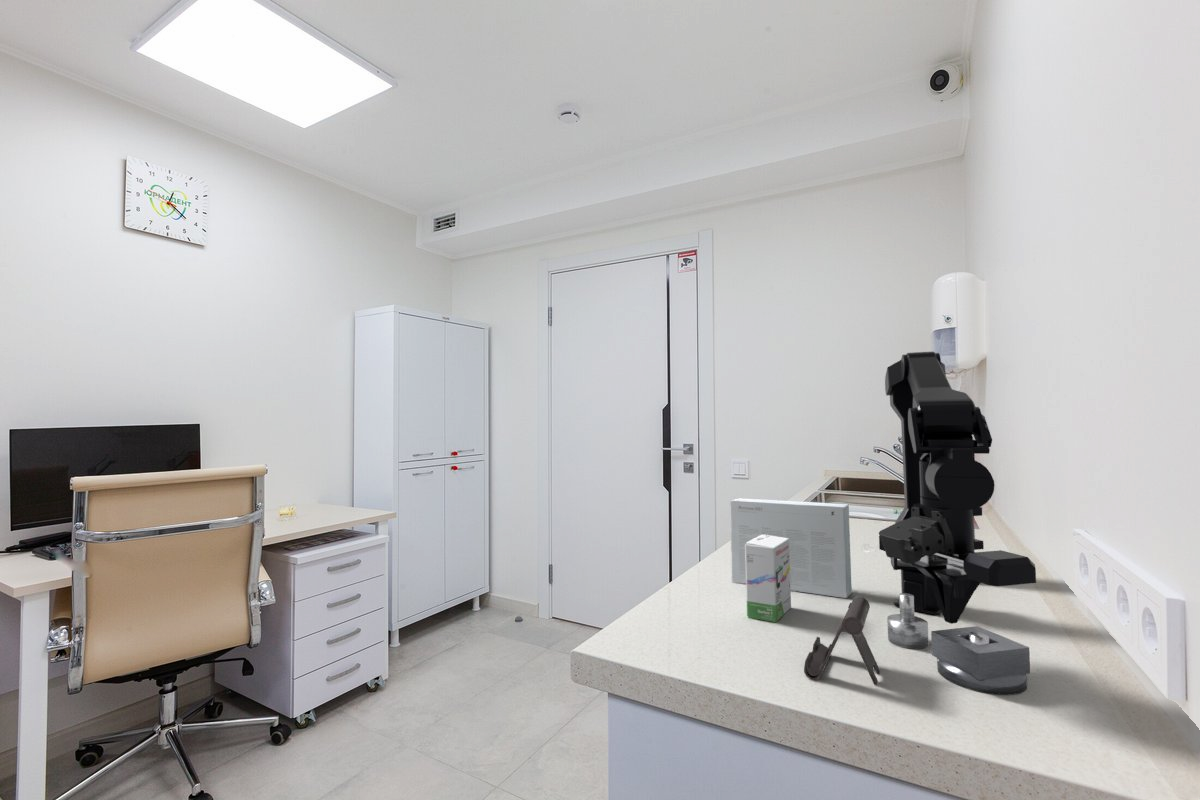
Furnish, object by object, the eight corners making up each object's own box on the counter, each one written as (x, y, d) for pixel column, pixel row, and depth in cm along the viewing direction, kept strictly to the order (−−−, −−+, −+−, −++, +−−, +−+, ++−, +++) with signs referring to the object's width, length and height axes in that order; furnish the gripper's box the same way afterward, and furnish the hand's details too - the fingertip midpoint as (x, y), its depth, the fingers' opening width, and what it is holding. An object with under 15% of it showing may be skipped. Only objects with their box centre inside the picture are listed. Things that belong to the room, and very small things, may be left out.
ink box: (776, 623, 87) (774, 546, 88) (745, 617, 90) (743, 543, 90) (792, 607, 94) (790, 536, 95) (763, 602, 97) (761, 533, 97)
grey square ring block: (978, 649, 73) (977, 626, 73) (1030, 673, 66) (1029, 647, 66) (932, 655, 71) (931, 631, 71) (979, 680, 64) (978, 653, 65)
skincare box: (853, 591, 103) (850, 503, 103) (847, 599, 98) (845, 507, 98) (739, 575, 114) (737, 496, 114) (730, 582, 109) (728, 500, 110)
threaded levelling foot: (896, 632, 83) (894, 587, 83) (934, 642, 79) (932, 595, 79) (882, 641, 79) (880, 595, 80) (920, 652, 76) (919, 603, 76)
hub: (951, 654, 75) (949, 616, 75) (1035, 677, 68) (1033, 635, 68) (926, 676, 69) (925, 634, 69) (1016, 703, 62) (1014, 657, 62)
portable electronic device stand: (816, 652, 77) (814, 590, 77) (881, 664, 73) (879, 598, 73) (804, 678, 69) (802, 609, 69) (875, 693, 65) (873, 620, 65)
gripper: (843, 491, 79) (847, 604, 78) (951, 512, 61) (957, 660, 60) (912, 487, 81) (916, 597, 81) (1037, 507, 63) (1043, 649, 62)
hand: (950, 622), depth 71 cm, fingers closed
